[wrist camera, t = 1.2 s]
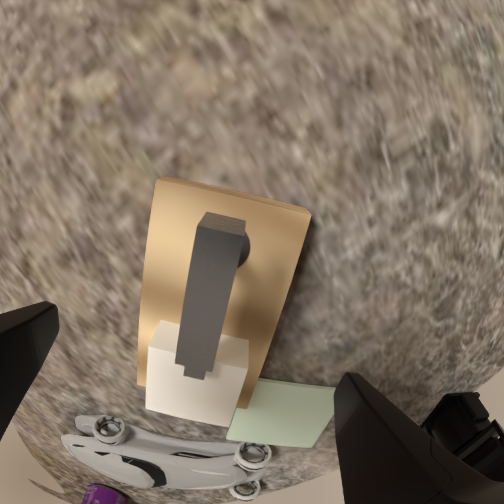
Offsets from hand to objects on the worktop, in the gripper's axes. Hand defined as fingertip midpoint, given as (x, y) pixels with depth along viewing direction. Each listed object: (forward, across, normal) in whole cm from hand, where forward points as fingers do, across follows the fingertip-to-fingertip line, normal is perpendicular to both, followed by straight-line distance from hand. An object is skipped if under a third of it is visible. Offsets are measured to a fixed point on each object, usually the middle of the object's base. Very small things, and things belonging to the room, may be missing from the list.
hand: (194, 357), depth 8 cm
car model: (+13, +2, +27) cm, 30 cm away
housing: (+12, 0, +5) cm, 13 cm away
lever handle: (+10, 0, +2) cm, 10 cm away
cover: (+10, 0, +9) cm, 14 cm away
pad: (+12, -8, +16) cm, 21 cm away
